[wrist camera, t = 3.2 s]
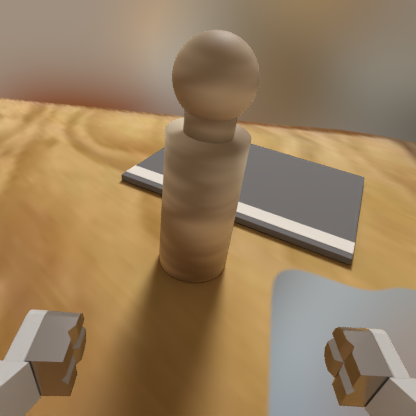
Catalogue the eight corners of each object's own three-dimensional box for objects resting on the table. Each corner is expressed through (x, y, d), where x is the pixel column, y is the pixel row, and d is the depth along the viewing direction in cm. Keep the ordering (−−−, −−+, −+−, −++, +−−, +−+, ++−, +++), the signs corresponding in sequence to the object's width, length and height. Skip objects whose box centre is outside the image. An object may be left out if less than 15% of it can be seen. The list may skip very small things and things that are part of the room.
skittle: (145, 265, 24) (150, 24, 15) (179, 228, 28) (199, 19, 19) (208, 293, 22) (253, 45, 14) (235, 250, 26) (283, 35, 18)
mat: (121, 179, 33) (121, 174, 32) (195, 131, 45) (195, 127, 45) (349, 264, 27) (352, 258, 26) (362, 181, 39) (364, 177, 39)
